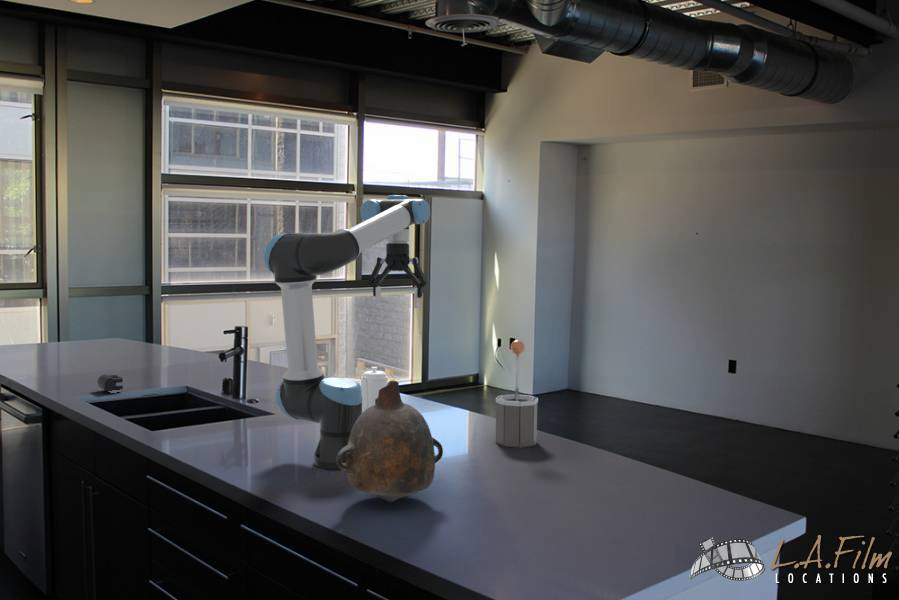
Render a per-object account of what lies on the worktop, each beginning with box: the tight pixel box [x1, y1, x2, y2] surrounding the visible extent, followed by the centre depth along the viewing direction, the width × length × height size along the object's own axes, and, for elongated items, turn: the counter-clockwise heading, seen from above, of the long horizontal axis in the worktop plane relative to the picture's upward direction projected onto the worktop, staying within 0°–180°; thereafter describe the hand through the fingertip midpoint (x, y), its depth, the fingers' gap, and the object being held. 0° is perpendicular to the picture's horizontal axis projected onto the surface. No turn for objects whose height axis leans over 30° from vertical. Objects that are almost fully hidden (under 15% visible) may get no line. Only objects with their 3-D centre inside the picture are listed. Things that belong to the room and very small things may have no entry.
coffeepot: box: [360, 366, 389, 412], centre depth 286 cm, size 11×25×19 cm, turn 168°
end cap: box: [97, 373, 124, 392], centre depth 335 cm, size 10×7×7 cm
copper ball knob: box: [510, 339, 526, 401], centre depth 256 cm, size 8×8×21 cm
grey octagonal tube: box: [495, 393, 539, 449], centre depth 259 cm, size 16×12×14 cm
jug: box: [336, 379, 444, 503], centre depth 198 cm, size 24×21×30 cm
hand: (397, 307), depth 272 cm, fingers open, 13 cm apart
